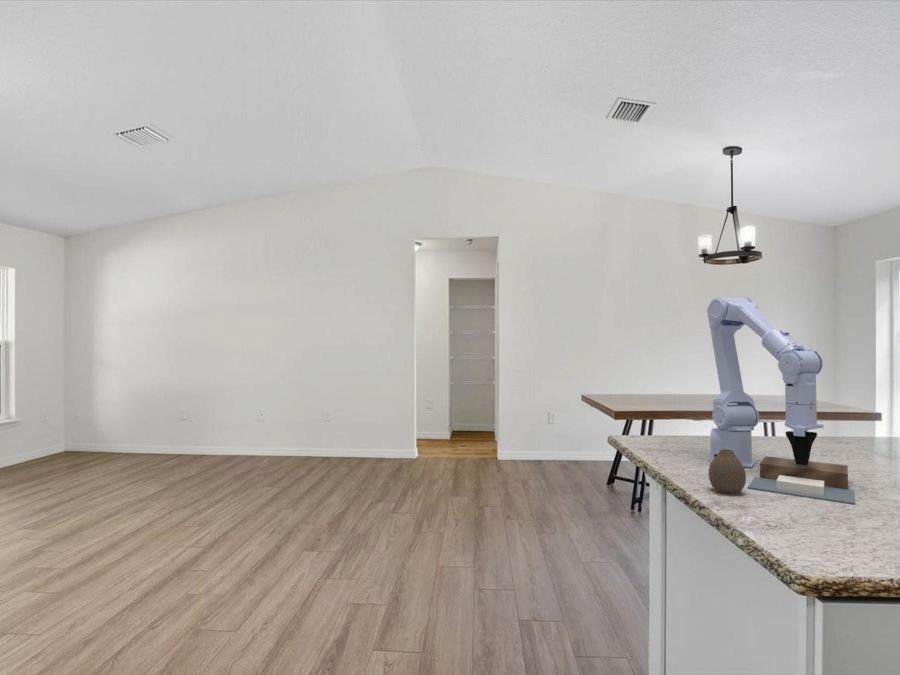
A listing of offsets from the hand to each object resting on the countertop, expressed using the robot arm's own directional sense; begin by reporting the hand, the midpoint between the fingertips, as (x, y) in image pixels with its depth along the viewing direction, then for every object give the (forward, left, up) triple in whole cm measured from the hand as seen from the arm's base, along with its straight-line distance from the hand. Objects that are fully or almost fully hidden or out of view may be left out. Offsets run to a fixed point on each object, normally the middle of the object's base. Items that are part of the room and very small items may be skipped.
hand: (801, 464), depth 111 cm
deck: (0, +5, -4) cm, 6 cm away
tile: (0, -7, -2) cm, 7 cm away
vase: (-12, -17, -4) cm, 22 cm away
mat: (0, -6, -4) cm, 8 cm away
